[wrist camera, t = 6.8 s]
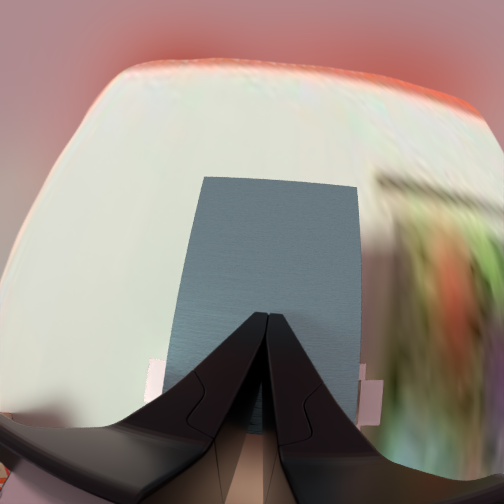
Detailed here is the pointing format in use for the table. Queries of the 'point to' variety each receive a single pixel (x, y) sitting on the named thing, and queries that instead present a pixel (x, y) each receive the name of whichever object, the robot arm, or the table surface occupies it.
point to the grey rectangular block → (273, 276)
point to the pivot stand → (366, 398)
